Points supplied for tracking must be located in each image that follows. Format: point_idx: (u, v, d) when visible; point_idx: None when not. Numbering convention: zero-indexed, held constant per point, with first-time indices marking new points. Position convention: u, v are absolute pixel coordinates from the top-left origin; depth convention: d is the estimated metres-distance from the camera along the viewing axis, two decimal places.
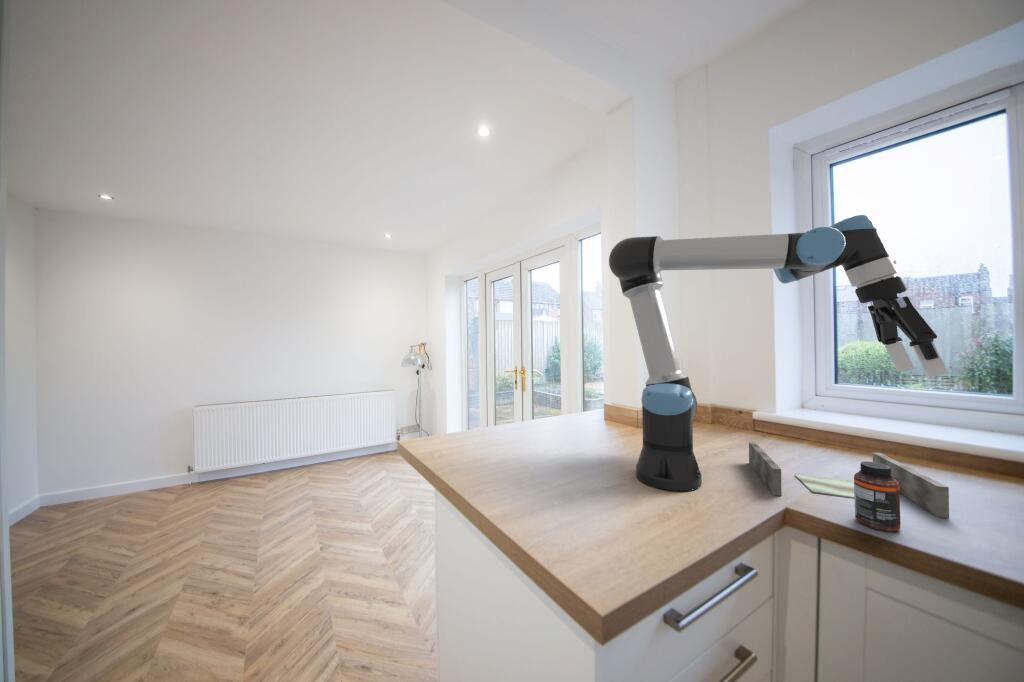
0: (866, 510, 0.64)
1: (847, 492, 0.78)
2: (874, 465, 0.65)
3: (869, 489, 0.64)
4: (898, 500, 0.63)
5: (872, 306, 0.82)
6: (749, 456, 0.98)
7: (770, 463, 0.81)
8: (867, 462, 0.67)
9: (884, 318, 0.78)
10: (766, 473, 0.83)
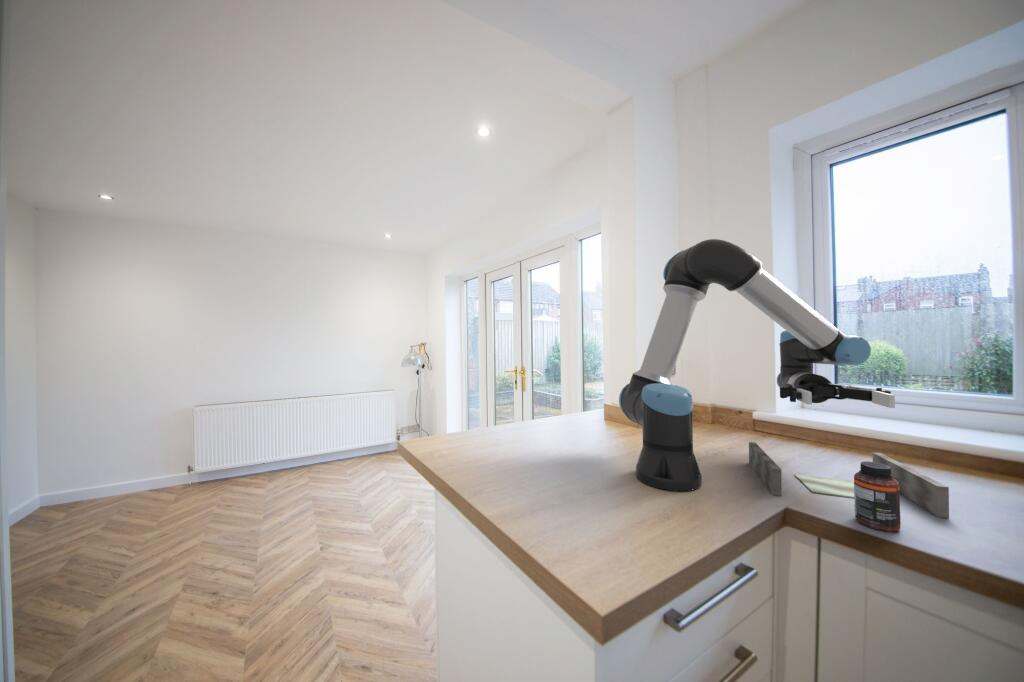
0: (866, 510, 0.64)
1: (847, 492, 0.78)
2: (874, 465, 0.65)
3: (869, 489, 0.64)
4: (898, 500, 0.63)
5: None
6: (749, 456, 0.98)
7: (770, 463, 0.81)
8: (867, 462, 0.67)
9: (818, 386, 0.86)
10: (766, 473, 0.83)
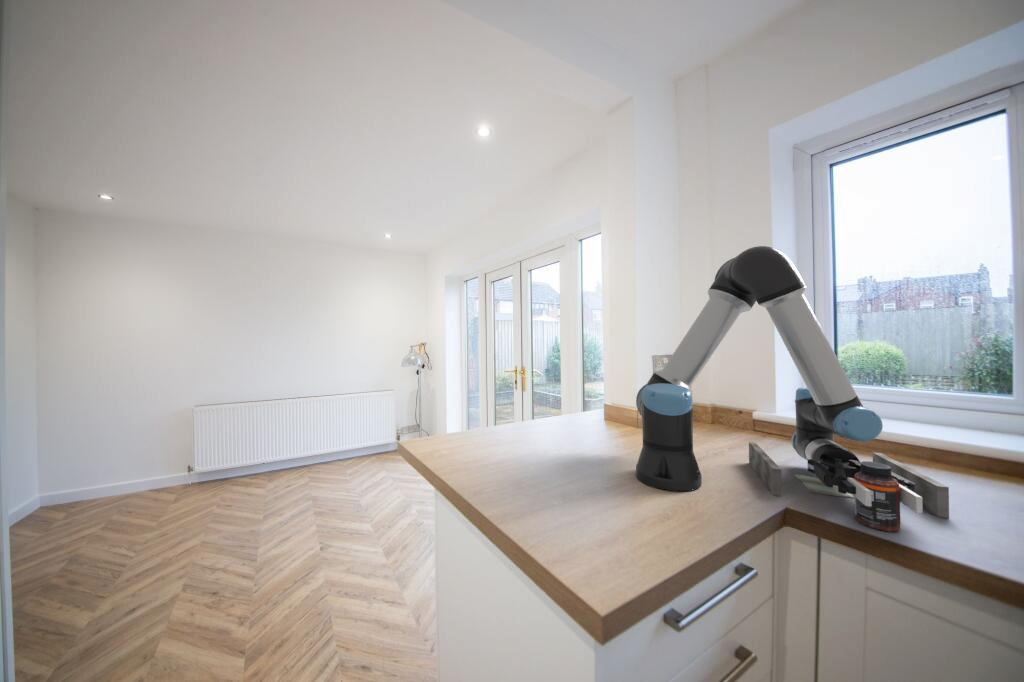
0: (866, 510, 0.64)
1: None
2: (874, 465, 0.65)
3: (869, 489, 0.64)
4: (898, 500, 0.63)
5: None
6: (749, 456, 0.98)
7: (770, 463, 0.81)
8: (867, 462, 0.67)
9: (844, 466, 0.75)
10: (766, 473, 0.83)
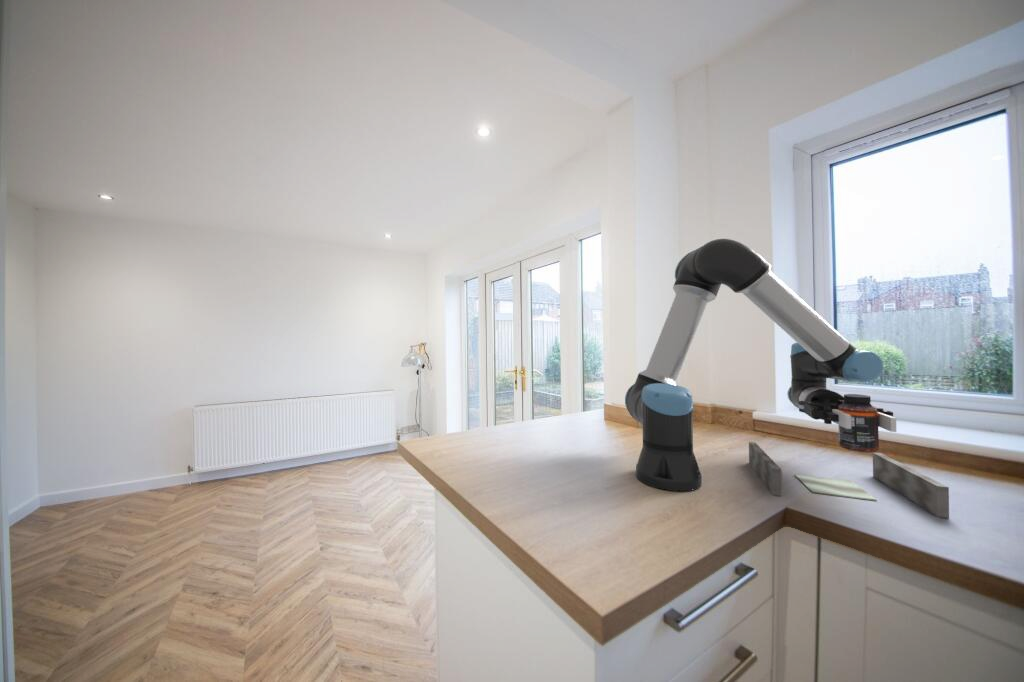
0: (848, 435, 0.72)
1: (847, 492, 0.78)
2: (855, 395, 0.72)
3: (851, 415, 0.71)
4: (876, 424, 0.70)
5: None
6: (749, 456, 0.98)
7: (770, 463, 0.81)
8: (850, 394, 0.74)
9: (831, 404, 0.82)
10: (766, 473, 0.83)
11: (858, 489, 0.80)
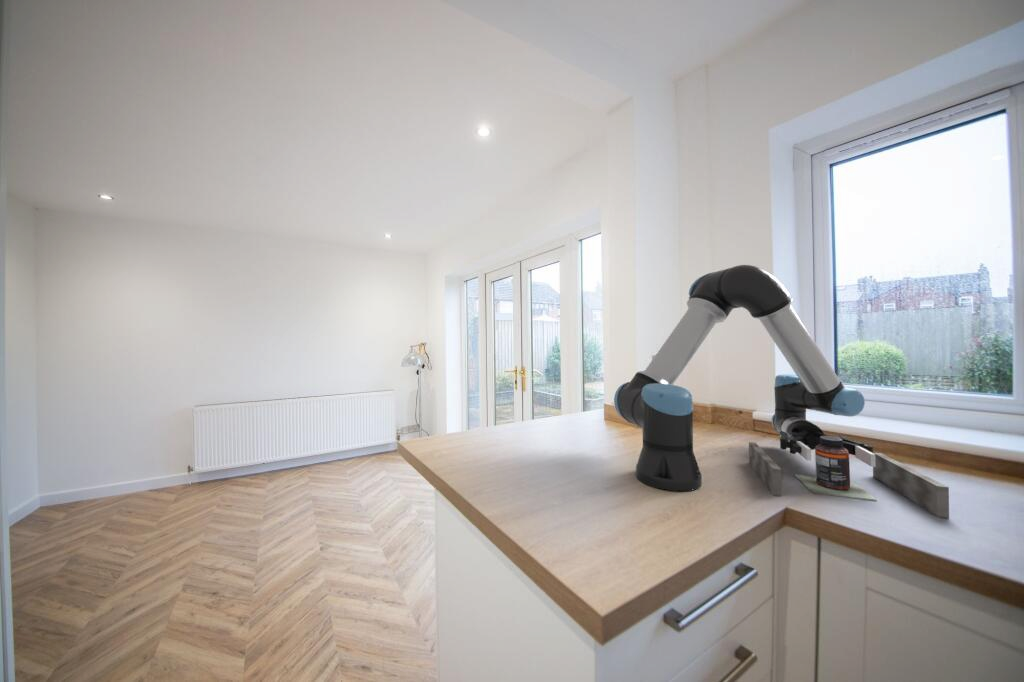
0: (823, 474, 0.81)
1: (847, 492, 0.78)
2: (830, 438, 0.82)
3: (826, 457, 0.81)
4: (848, 465, 0.79)
5: None
6: (749, 456, 0.98)
7: (770, 463, 0.81)
8: (825, 436, 0.83)
9: (809, 436, 0.91)
10: (766, 473, 0.83)
11: (858, 489, 0.80)
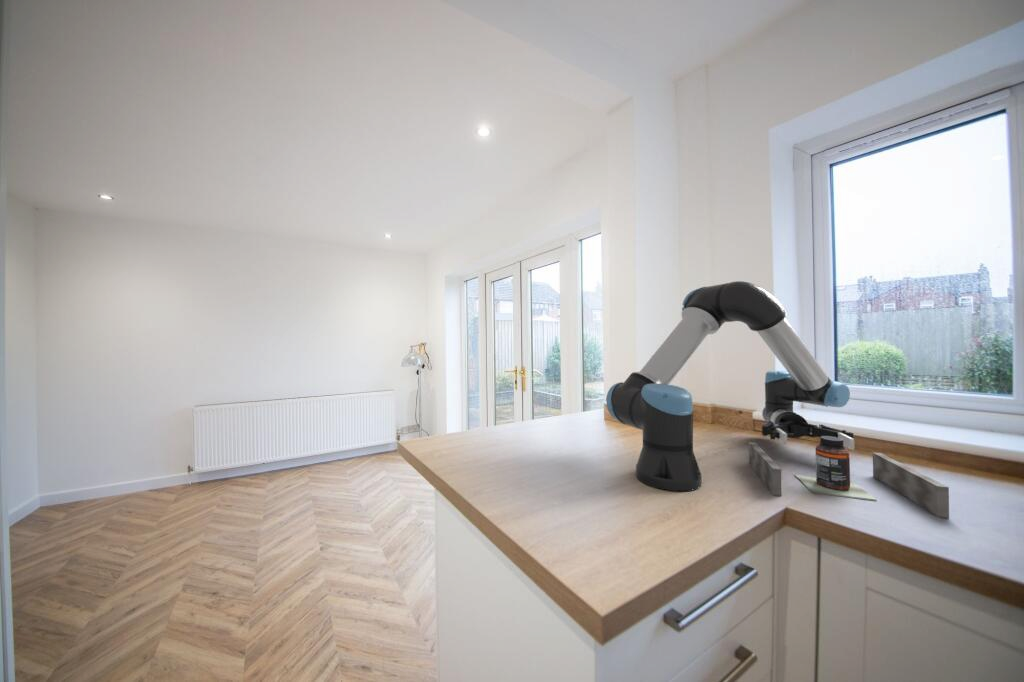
0: (823, 474, 0.81)
1: (847, 492, 0.78)
2: (830, 438, 0.82)
3: (826, 457, 0.81)
4: (848, 465, 0.79)
5: None
6: (749, 456, 0.98)
7: (770, 463, 0.81)
8: (826, 436, 0.83)
9: (794, 425, 1.01)
10: (766, 473, 0.83)
11: (858, 489, 0.80)
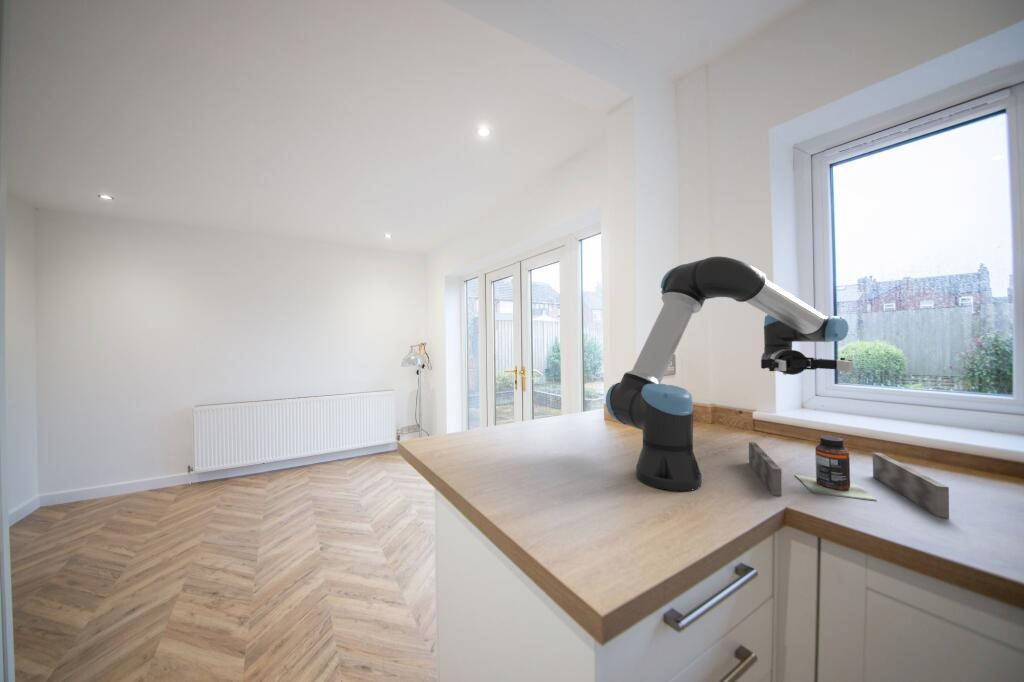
0: (823, 474, 0.81)
1: (847, 492, 0.78)
2: (830, 438, 0.82)
3: (826, 457, 0.81)
4: (848, 465, 0.79)
5: None
6: (749, 456, 0.98)
7: (770, 463, 0.81)
8: (825, 436, 0.83)
9: (793, 359, 1.01)
10: (766, 473, 0.83)
11: (858, 489, 0.80)
